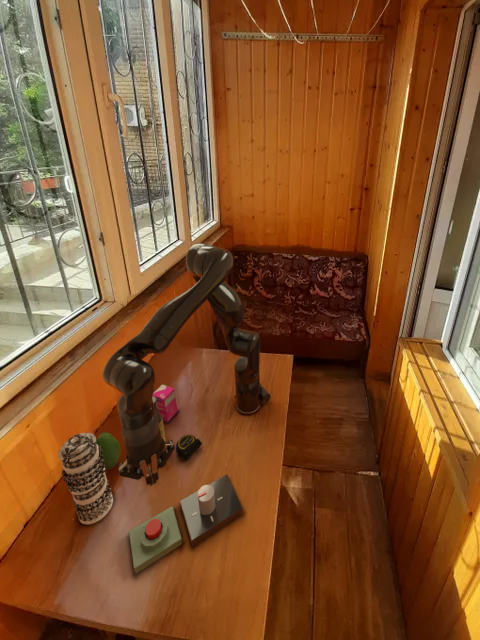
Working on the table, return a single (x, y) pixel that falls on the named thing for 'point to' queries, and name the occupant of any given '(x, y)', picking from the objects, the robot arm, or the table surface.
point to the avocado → (109, 449)
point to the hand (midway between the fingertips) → (152, 481)
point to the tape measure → (187, 446)
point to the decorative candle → (86, 477)
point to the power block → (154, 540)
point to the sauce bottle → (159, 419)
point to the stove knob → (206, 499)
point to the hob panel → (222, 514)
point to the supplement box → (166, 402)
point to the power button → (153, 529)
